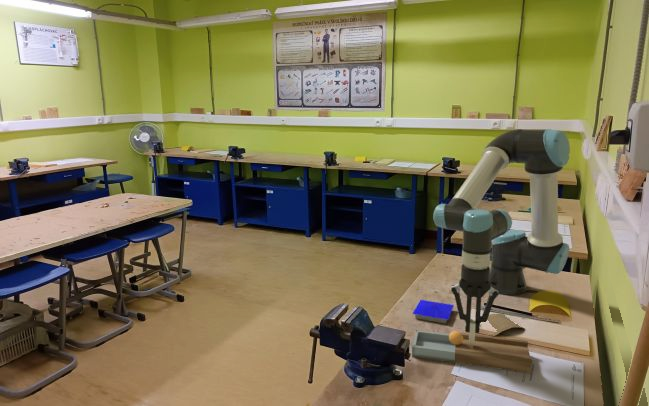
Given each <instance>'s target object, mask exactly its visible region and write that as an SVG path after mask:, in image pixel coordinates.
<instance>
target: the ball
mask: <svg viewBox="0 0 649 406" xmlns="http://www.w3.org/2000/svg"><path fill="white" fill-rule="evenodd" d="M461 333H462V332H460V331H459V330H453V331H451V332H450V333H449V334H450V335H449V340H450V342H451V343H452V344H454V345H460V344H461V343H462V341H463V336H462V334H461Z"/></svg>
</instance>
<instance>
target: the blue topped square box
mask: <svg viewBox="0 0 649 406" xmlns="http://www.w3.org/2000/svg"><path fill="white" fill-rule="evenodd" d="M454 307H455V305H454V304H449V303H444V302H443V303H442V302H437V301H429V300H425V299H420V300H419V301H418V303H417V305H416V306H415V309H414V310H413V311H412V315H415V319H419V320H423V321H429V322H435V323H440V324H441V323H442V324H446V323H447V321H449V319H450V316H451V314H452V311H453V309H454Z"/></svg>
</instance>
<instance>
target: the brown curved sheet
mask: <svg viewBox="0 0 649 406" xmlns="http://www.w3.org/2000/svg"><path fill="white" fill-rule="evenodd" d="M507 317H508V316H507ZM507 317H505V314H504V313H492V314H490V313H489V316H488V319H487V320H488V321H489V323H490V324H491V325H492V327H494V328H495V329H497V330H496V331H497V332H496V333H494V334H490V335H491V337H496V336H497V335H499V334H500V333H502V332H504V331H506V330H509V329H512V328H521V327H520V326H521V325H520V324H519V323H517V324H515V323H514V322H515V321H514V320H513V321H514V322H513V321H511V320H512V319H511V318H509V317H508V318H507ZM510 319H511V320H510ZM518 324H519V325H520V326H519V325H518ZM521 329H522V328H521Z"/></svg>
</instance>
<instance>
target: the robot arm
mask: <svg viewBox="0 0 649 406" xmlns="http://www.w3.org/2000/svg"><path fill="white" fill-rule="evenodd" d="M570 149H571V148H570V142H569V137H568V135H566V133H565V132H564V131H562V130H557V129H552V128H551V129H549V128H547V129H546V128H545V129H541V128H540V129H538V128H537V129H534V128H532V129H522V128H516V129H511V130H508V131H505V132H504V133H501V134H500V135H497V136H496V137H495V138H494V139H493V140H491V141H490V142H489V143H488V144H487V145H486V146H485V148H484V149H483V151H482V152H481V158H480V160H478V162H477V164H476V165H475V166H474V168H473V170H472V171H471V172H470V174H469V175H468V177H467V178H466V179H465V180H464V182H463V184H461V186H460V188H459V189H458V190H457V191H456V192H455V195H454V196H453V197H452V199H451V200H450V201H449V202H448V204H447V203H440V204H438V205H436V207H435V208H434V211H433V216H432V217H433V221H434V224H435V226H437V227H438V228H441V229H442V228H443V229H445V230H451V231H457V232H462V251H461V264H462V265H461V267H460V268H461V269H460V270H461V271H460V273H461V274H460V280H459V282H458V283H457V284H452V285H451V286H450V287H451V288H450V291H451V293H452V294H453V296H454V299H455V305H456V308H457V313H458V316H459V317H458V318H459V320H460V321H461V320H463V321H465V327H464V328H465V333H466V332H467V333H468V334H469V344H473V345H475V335H476V334H480V327H481V326H480V323H481V322H486V321H487V319H488V316H489V315H490V313H491V310H492V308H493V304H494V301H495V299H496V298H497V297H498V296H499V294H501V295H510V296H511V295H512V296H516V295H521V294H524V293H525V292H526V291H527V282H526V277H525V274H524V271H523V270H524V268H526V269H531V270H535V271H540V272H544V273H546V274H548V273H549V274H555V275H556V274H560V273H561V272H562V271H563V269H564V267H565V265H566V263H567V260H568V257H569V253H570V246H569V244H568V243H565V242H564V241H563V240H564V239H563V238H564V237H563V236H562V234H560V233H559V194H558V193H559V192H558V191H559V188H558V187H559V184H558V177H559V175H558V174H559V173H560V172H561V171H563V169H564V168H563V167H565V166H566V165H567V164H568V162H569V161H570V160H569V159H570V152H571V151H570ZM516 163H517V164H523V165H524V171H525V173H527V174H528V175H529V189H530V190H529V191H530V193H529V195H530V219H531V220H530V224H531V226H530V228H531V232H530V233H528V235H527V234H526V231H524V230H520V229H511V228H512V225H513V220H512V216H511V215H510V214H509V213H508V212H507V211H506V210H504V209H500V208H499V209H493V210H486V209H477V206H478V204H479V203H480V202H481V201H482V199H483V198H484V196H485V194H486V193H487V191H488V190H489V189H490V188H491V186H492V184H493V182H494V181H495V180H496V178H497V177H498V175H499V173H500V172H501V171H502V170H504V169H506V168H507V167H508V166H509V164H516ZM526 235H527V236H526ZM491 254H492V256H491ZM461 290H462V292H463V293H464V294H465V296H466V309H465V311H466V313H465V312H464V307H463V304H462V300H461V299H462V298H461V295H460V291H461ZM487 293H488V298H487V301H486V304H485V307H484V309H483V313H482V315H481V309H482V298H483V297H484V296H485V295H486V294H487ZM472 298H475V317H474V318H475V319H473V318H471V315H472Z"/></svg>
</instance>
